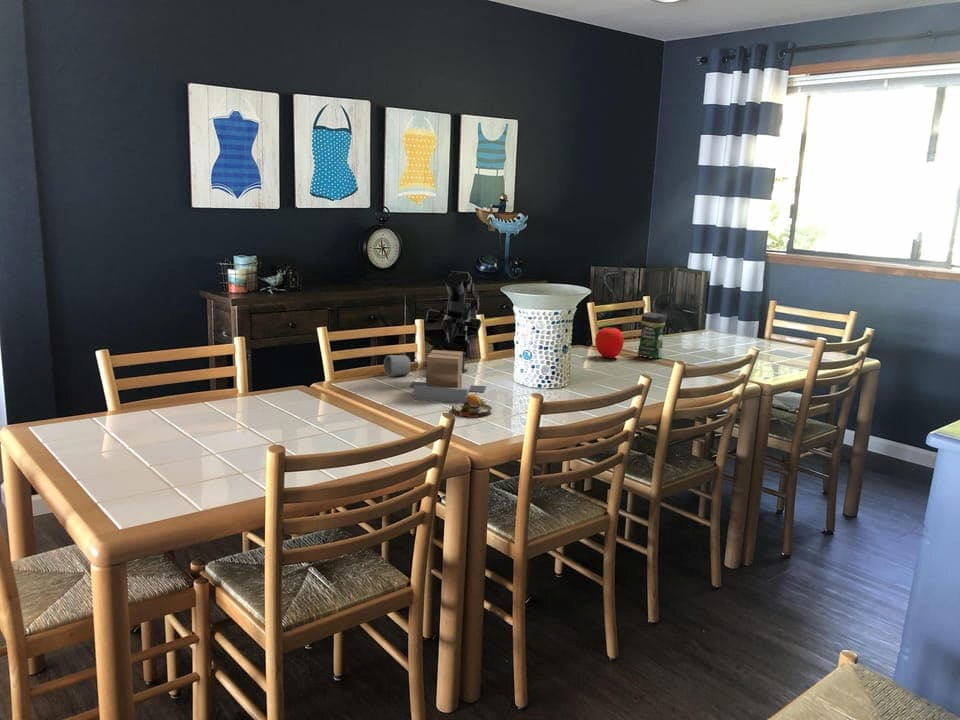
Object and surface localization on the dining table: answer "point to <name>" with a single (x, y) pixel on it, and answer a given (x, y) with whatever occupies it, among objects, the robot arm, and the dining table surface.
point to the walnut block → (444, 369)
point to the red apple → (609, 342)
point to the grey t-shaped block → (440, 393)
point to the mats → (472, 389)
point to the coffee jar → (651, 335)
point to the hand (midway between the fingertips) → (450, 342)
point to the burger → (472, 407)
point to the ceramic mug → (397, 365)
